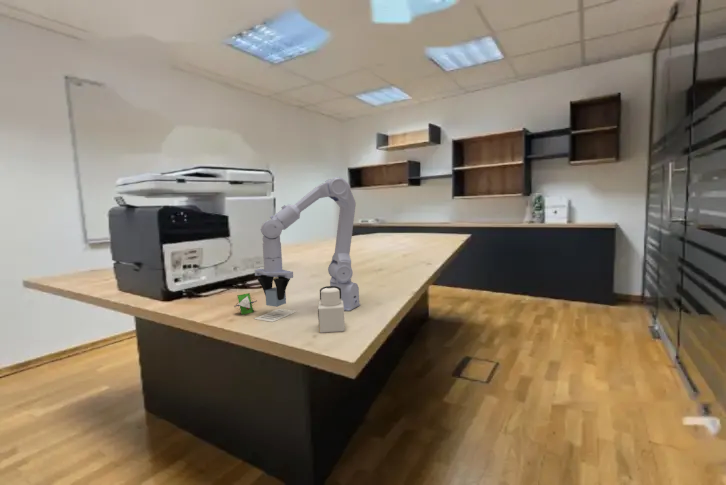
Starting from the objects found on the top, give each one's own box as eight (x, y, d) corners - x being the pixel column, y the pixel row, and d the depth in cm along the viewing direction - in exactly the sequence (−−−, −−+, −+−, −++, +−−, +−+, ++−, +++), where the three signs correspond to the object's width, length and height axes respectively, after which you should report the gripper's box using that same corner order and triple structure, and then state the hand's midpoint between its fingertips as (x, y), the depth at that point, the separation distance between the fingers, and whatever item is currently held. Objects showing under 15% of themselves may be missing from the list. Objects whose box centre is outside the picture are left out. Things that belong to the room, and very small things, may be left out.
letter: (297, 311, 123) (297, 311, 123) (272, 322, 113) (272, 321, 113) (278, 308, 127) (278, 308, 127) (253, 318, 116) (253, 318, 116)
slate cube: (286, 303, 121) (285, 288, 120) (276, 306, 117) (276, 291, 116) (275, 301, 123) (274, 287, 122) (266, 305, 119) (265, 290, 118)
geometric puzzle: (230, 305, 125) (233, 290, 121) (249, 301, 129) (253, 286, 125) (237, 321, 121) (241, 305, 117) (256, 317, 125) (261, 301, 121)
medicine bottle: (319, 324, 109) (318, 285, 107) (343, 323, 109) (342, 283, 108) (319, 333, 101) (317, 290, 100) (344, 331, 102) (343, 289, 101)
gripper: (246, 258, 118) (249, 299, 119) (281, 260, 111) (284, 303, 112) (262, 255, 124) (264, 294, 125) (296, 256, 117) (298, 298, 118)
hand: (274, 298), depth 119 cm, fingers closed on slate cube, 4 cm apart
